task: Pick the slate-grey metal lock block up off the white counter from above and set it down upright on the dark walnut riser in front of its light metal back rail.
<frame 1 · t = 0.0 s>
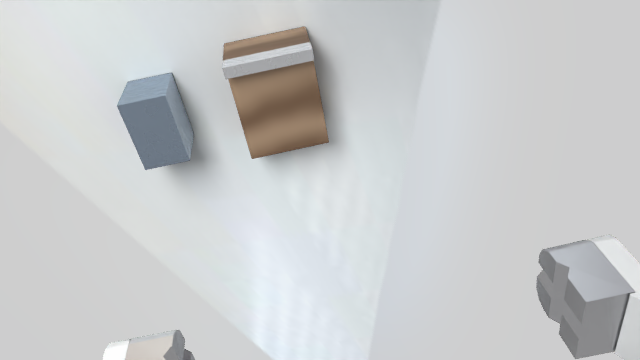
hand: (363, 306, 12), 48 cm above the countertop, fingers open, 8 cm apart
walnut riser: (276, 85, 59), on the countertop
lock block: (162, 109, 59), on the countertop
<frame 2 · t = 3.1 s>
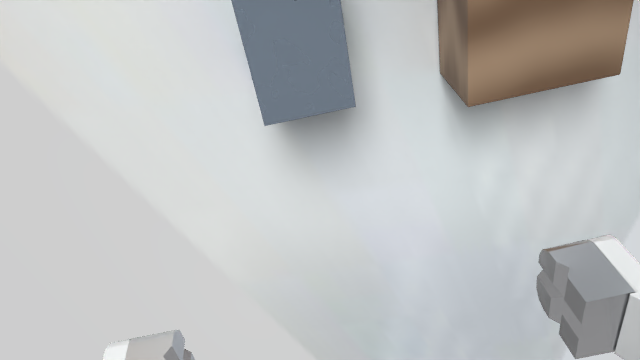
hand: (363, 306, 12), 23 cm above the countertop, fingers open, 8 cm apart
lock block: (286, 10, 30), on the countertop
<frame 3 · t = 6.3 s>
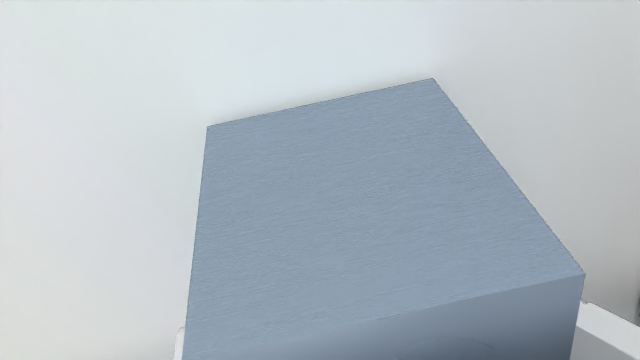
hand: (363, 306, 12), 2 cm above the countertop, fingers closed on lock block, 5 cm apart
lock block: (346, 238, 13), on the countertop, touching gripper
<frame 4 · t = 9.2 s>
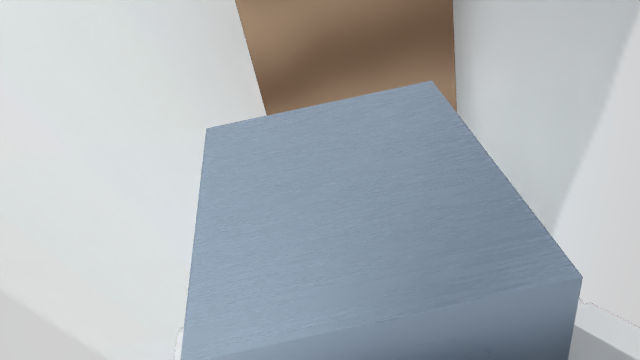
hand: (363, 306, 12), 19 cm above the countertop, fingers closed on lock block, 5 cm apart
walnut riser: (335, 11, 27), on the countertop
lock block: (345, 240, 13), point 17 cm above the countertop, touching gripper
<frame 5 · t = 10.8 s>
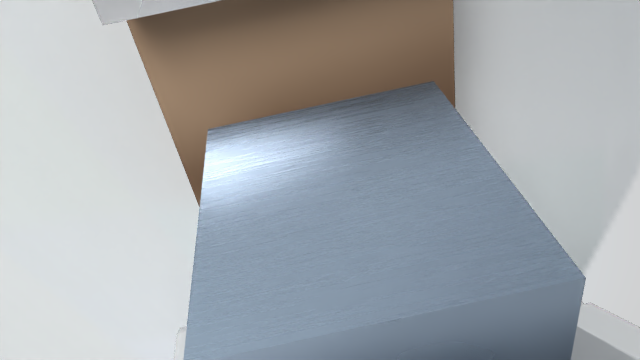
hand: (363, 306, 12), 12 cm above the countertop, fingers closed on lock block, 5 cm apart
walnut riser: (301, 63, 20), on the countertop
lock block: (346, 240, 13), point 9 cm above the countertop, touching gripper
when the fingers open (9 cm above the countertop, at t = 12.2 s): lock block drops 1 cm, resting on walnut riser.
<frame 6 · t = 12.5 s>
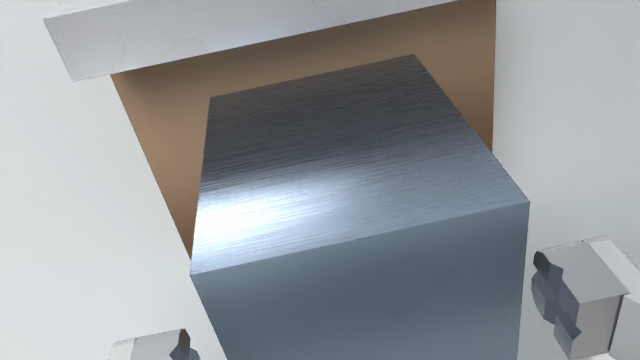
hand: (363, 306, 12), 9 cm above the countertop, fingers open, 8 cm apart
walnut riser: (311, 100, 18), on the countertop
lock block: (337, 205, 15), point 5 cm above the countertop, touching walnut riser
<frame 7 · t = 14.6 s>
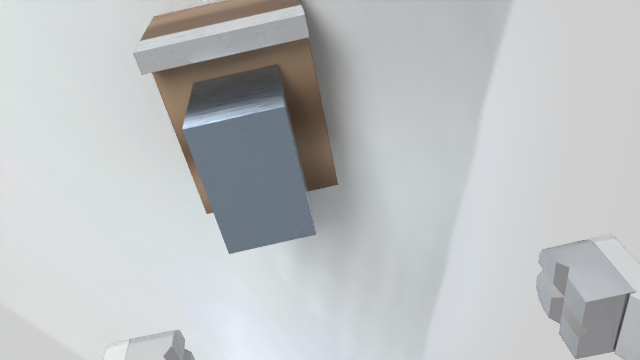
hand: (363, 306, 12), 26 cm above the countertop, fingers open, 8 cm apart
walnut riser: (248, 88, 35), on the countertop
lock block: (253, 133, 32), point 5 cm above the countertop, touching walnut riser
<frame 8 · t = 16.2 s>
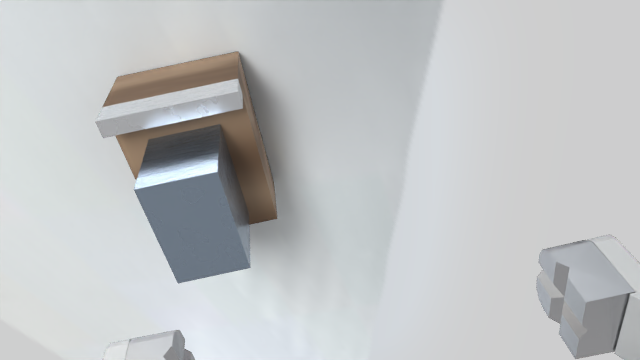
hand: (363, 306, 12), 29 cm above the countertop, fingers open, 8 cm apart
walnut riser: (202, 134, 41), on the countertop
lock block: (202, 178, 37), point 5 cm above the countertop, touching walnut riser
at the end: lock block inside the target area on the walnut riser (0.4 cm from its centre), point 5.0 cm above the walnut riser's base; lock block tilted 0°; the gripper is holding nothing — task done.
